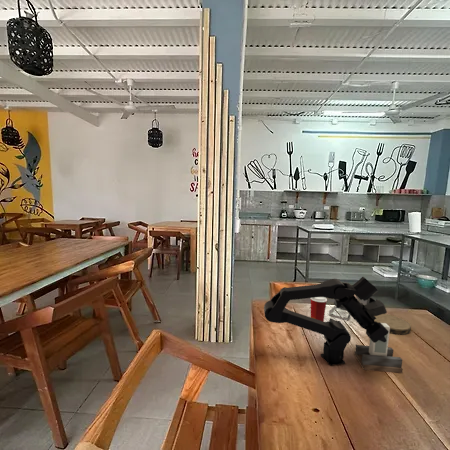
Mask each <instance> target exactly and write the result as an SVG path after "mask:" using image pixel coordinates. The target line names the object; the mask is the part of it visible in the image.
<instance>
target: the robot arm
mask: <svg viewBox="0 0 450 450" xmlns="http://www.w3.org/2000/svg"><path fill="white" fill-rule="evenodd" d="M378 292H379V290H378V289H377V287H376V286H375V285H373V284H372V283H371V282H370V281H369V280H368V279H367V278H366V277H364V276H362V277H360V278H359V280H357V281H355V283H354V284H351V283H349V282H342V281H341V280H340V279H338V278H331V279H327V280H324V281H322V282H320V283H318V284H311V285H300V286H292V287H291V286H289V287H282V288H281V289H280V290H279V291H278V292H277V293H276V294H275V295H273V296H272V298H271V299H270V300H268V301H266V302H265V303H264V305H263V310H264V317H265V319H266V321H267V322H270V323H276V324H284V323H287V324H289V325H293V326H296V327H298V328H303V329H306V330H308V331H311V332H314V333H317V334H320V335H323V337H324V339H325V342H323V349H322V350H323V352H322V353H320V357H321V358H322V359H323V360H324V361H325V362H326V363H327V364H328V365H329V366H337V365H343V364H346V360H344V355H345V353H344V352H345V349H346V347H347V345H348V344H349V343H350V342H351V339H352V335H351V333H350V332H349V331H348V329H347V328H346V327H345V324H343V323H342V322H341V321H340V320H335V319H333V318H332V317H330V318H329V319H328V321H324V322H323V321H320V320H317V319H314V318H311V316H308V315H304V314H301V313H299V312H295V311H293V310H291V309H287V307H286V306H287V305H288V303H289V302H290V301H293V300H294V301H295V300H303V299H310V298H315V297H325V298H326V299H329V300H334V302H333V305H334V306H335V307H337V308H336V309H338V308H339V307H340V306H341V305H342V306H343V307H344V308H345V310H346V312H347V313H348V315H349V314H350V317H352V319H353V320H354V321H355V322H356V323H357V324H358V325H359V326H360V328H362V329H364V330H365V334H366V336H367V337H368V338H369V340H370V339H371V340H372V341H373V342H374V343H376V342H377V341H378V340H380V341H382V342H386V341H387V340H386V338H385V335H387V334H388V332H389V331H388V330H387V329H386V328H385V327H384V326H383V325H382V324H381V323H378V322H376V321H375V322H374V320H375V319H376V317H375V316H378V315H381V314H388V311H387V309H386V306H385V303H384V302H382V301H381V300H379V299H374V298H373V297H372V296H373V295H375V294H377V293H378ZM359 300H360V301H359ZM361 301H364V302H365V301H366V303H365V304H363V303H362V302H361ZM345 310H344V311H345ZM372 324H374V325H372Z"/></svg>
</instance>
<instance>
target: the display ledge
mask: <svg viewBox="0 0 450 450" xmlns="http://www.w3.org/2000/svg"><path fill="white" fill-rule="evenodd" d="M353 354H354V357H355V358H356V360H357V361H358V363H359V365H360V366H361V368H362V369H363V370H366V371H374V372H375V371H376V372H387V373H398V374H399V373H400V374H403V359H402V358H401V357H400V356H394V349H393V347H389V346H388V350H387V356H378V355H370V353H369V345H365V344H364V345H363V344H362V345H361V344H356V345H355V350H354V353H353Z"/></svg>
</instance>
